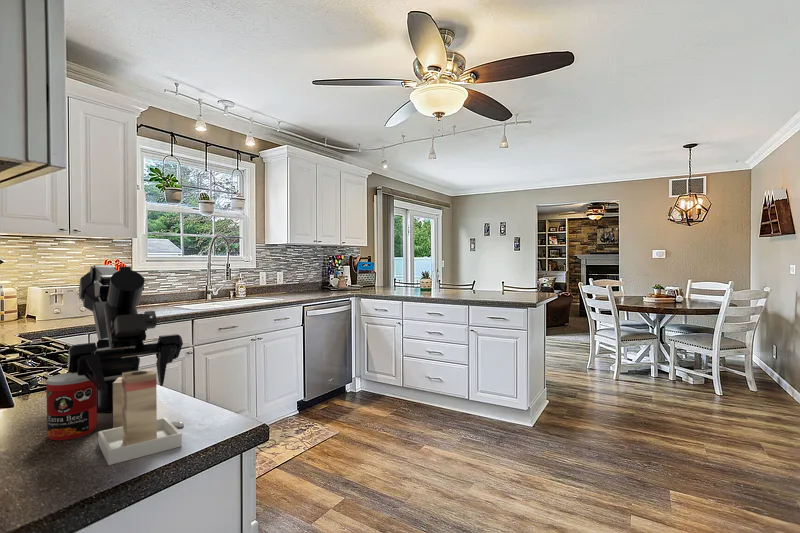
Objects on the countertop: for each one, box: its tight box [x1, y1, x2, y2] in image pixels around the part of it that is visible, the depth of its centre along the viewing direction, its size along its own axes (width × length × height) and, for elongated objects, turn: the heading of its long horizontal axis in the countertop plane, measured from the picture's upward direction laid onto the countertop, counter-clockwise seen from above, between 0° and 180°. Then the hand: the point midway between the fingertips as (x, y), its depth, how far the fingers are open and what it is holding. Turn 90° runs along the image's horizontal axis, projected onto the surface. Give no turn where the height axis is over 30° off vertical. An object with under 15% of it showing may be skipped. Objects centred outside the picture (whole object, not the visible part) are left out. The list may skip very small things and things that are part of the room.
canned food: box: [46, 372, 98, 441], centre depth 85 cm, size 8×8×11 cm
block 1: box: [112, 377, 123, 429], centre depth 90 cm, size 4×4×9 cm
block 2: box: [122, 368, 158, 446], centre depth 79 cm, size 4×4×13 cm
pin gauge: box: [169, 420, 185, 429], centre depth 88 cm, size 9×1×1 cm, turn 84°
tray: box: [97, 417, 183, 466], centre depth 79 cm, size 11×11×2 cm
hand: (134, 389), depth 82 cm, fingers open, 9 cm apart
